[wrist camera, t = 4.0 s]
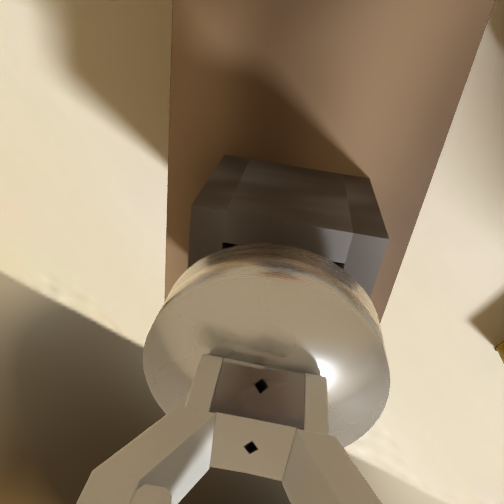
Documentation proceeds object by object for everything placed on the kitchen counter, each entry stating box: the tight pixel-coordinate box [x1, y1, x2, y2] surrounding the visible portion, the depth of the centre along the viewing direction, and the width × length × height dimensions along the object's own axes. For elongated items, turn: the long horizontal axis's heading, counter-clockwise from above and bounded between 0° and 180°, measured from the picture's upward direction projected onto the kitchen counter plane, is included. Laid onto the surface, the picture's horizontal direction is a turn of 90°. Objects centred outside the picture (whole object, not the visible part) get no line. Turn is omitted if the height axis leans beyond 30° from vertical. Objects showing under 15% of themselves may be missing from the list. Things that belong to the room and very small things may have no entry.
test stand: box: [165, 0, 495, 323], centre depth 18 cm, size 10×22×17 cm, turn 173°
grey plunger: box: [143, 243, 390, 448], centre depth 13 cm, size 6×6×6 cm
